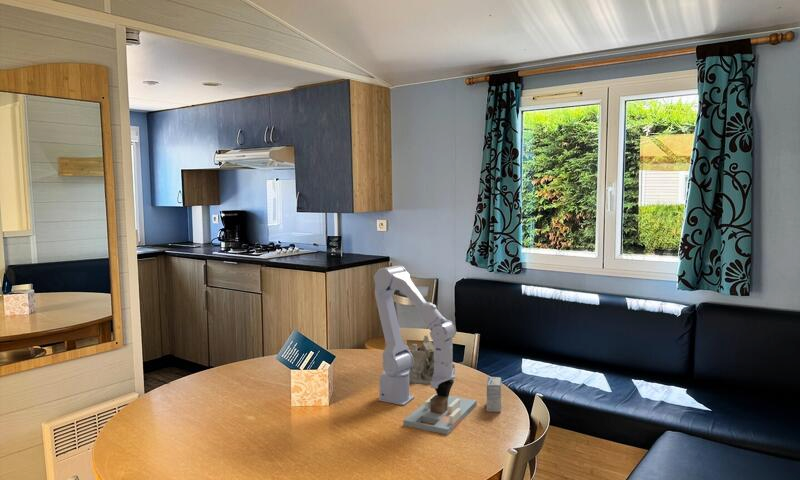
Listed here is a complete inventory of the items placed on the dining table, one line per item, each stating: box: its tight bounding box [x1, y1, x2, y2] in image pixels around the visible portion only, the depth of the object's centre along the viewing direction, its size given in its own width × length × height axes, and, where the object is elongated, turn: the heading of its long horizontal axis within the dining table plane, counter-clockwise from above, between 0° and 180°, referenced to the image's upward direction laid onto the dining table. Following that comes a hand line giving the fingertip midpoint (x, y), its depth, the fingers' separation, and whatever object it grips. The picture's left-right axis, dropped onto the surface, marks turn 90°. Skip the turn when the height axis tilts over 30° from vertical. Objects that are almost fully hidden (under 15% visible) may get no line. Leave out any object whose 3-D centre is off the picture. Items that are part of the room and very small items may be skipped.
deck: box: [403, 392, 478, 436], centre depth 171 cm, size 14×24×4 cm, turn 153°
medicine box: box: [486, 376, 503, 413], centre depth 176 cm, size 8×4×9 cm, turn 168°
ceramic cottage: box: [409, 335, 456, 385], centre depth 203 cm, size 16×16×15 cm
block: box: [430, 395, 448, 414], centre depth 170 cm, size 4×4×4 cm
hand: (443, 403), depth 173 cm, fingers closed
